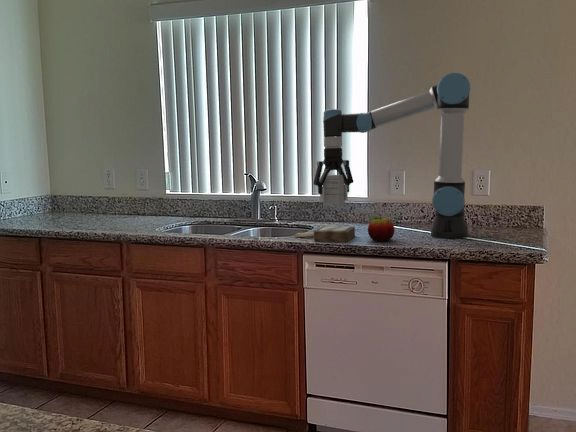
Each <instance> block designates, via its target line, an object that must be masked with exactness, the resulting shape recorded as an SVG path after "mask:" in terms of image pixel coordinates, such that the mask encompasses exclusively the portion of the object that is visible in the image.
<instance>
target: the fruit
mask: <svg viewBox="0 0 576 432" xmlns="http://www.w3.org/2000/svg"><path fill="white" fill-rule="evenodd" d="M367 218H368V219H372V220H371V221H370V222H369V224H368V227H367V234H368V235H369V236H368V237H370V239H371V240H372V241H374V242H379V243H381V242H382V243H383V242H389V241H390V240H392V238H393V237H394V234H395V226H394V224H393V222H392V221H391V220H390V218H387V217H382V216H375V215H371V216H369V217H367Z"/></svg>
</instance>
